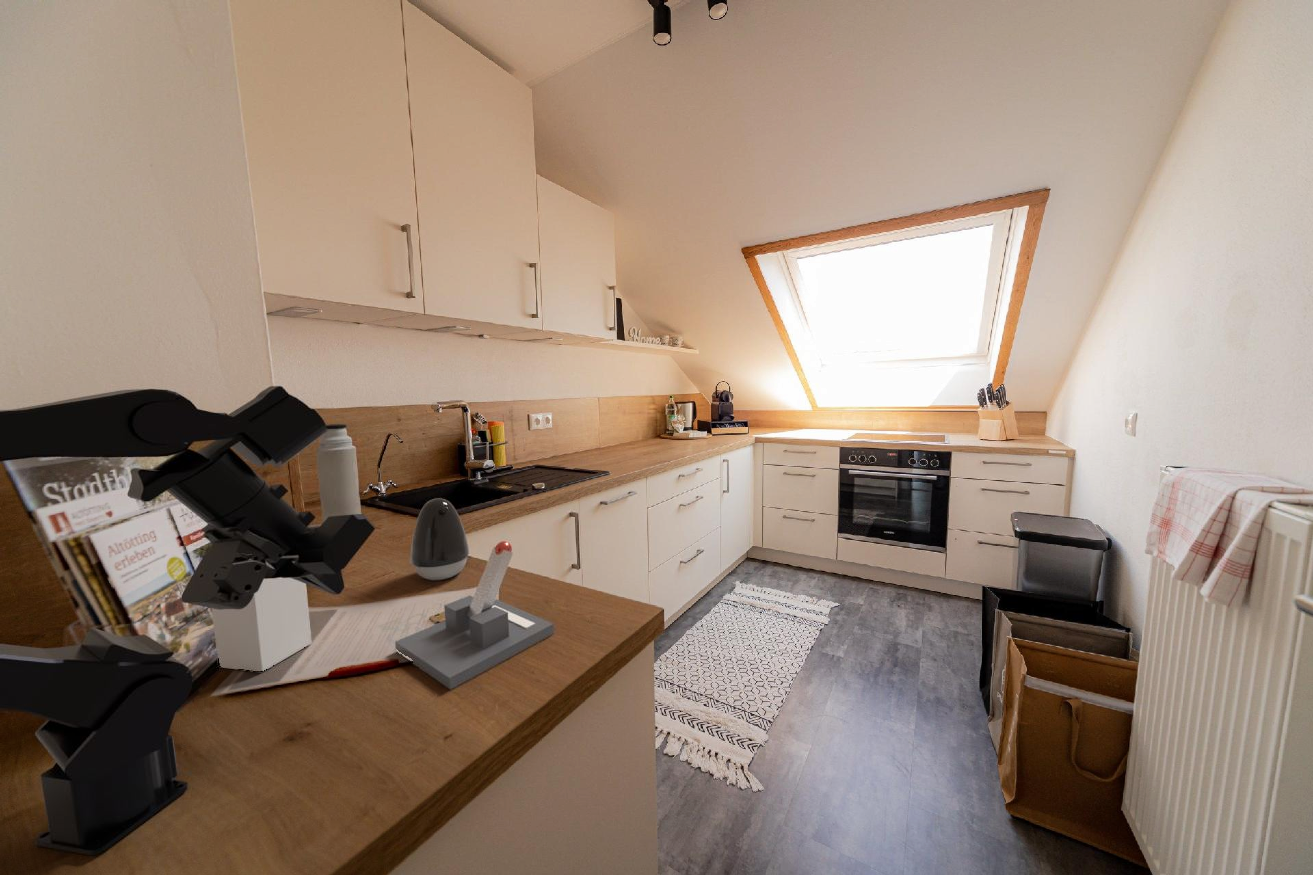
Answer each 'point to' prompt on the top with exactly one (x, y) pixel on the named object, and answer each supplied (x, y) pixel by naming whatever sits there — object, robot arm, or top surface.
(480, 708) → the top surface
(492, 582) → the switch lever
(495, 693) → the top surface
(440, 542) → the grey egg shaped device
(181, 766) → the top surface
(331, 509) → the thermos bottle
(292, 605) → the milk carton
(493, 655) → the switch box
